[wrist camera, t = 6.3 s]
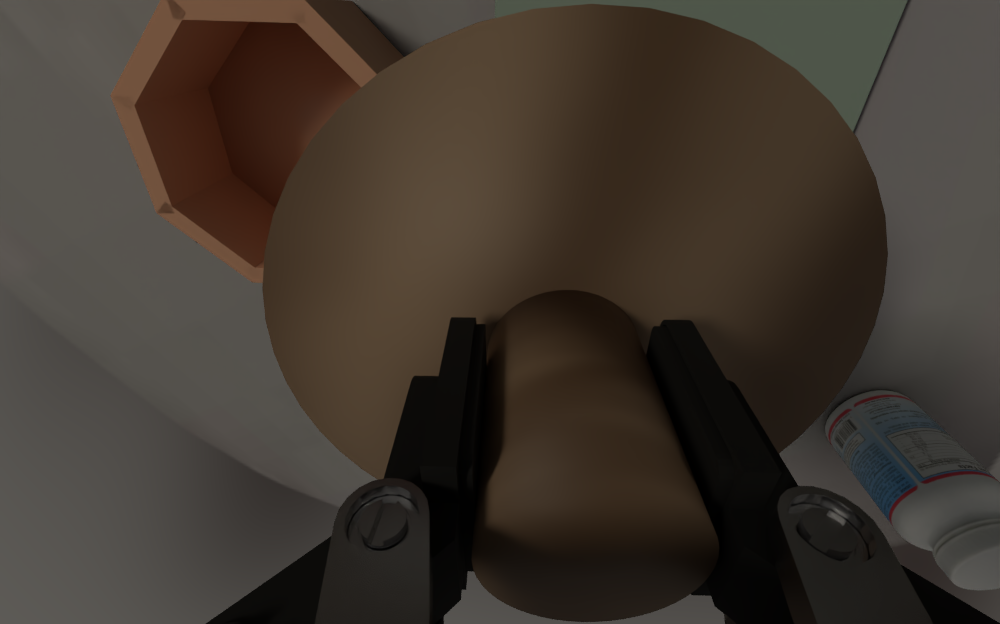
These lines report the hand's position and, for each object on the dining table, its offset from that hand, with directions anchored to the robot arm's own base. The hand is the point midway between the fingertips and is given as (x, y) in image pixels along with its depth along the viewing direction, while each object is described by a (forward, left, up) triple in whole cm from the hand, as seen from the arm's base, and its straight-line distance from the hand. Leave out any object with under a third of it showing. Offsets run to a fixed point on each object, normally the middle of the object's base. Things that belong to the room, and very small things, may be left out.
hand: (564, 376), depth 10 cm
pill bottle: (-26, +18, -18) cm, 36 cm away
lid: (0, 0, -2) cm, 2 cm away
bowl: (+11, -1, -17) cm, 21 cm away
